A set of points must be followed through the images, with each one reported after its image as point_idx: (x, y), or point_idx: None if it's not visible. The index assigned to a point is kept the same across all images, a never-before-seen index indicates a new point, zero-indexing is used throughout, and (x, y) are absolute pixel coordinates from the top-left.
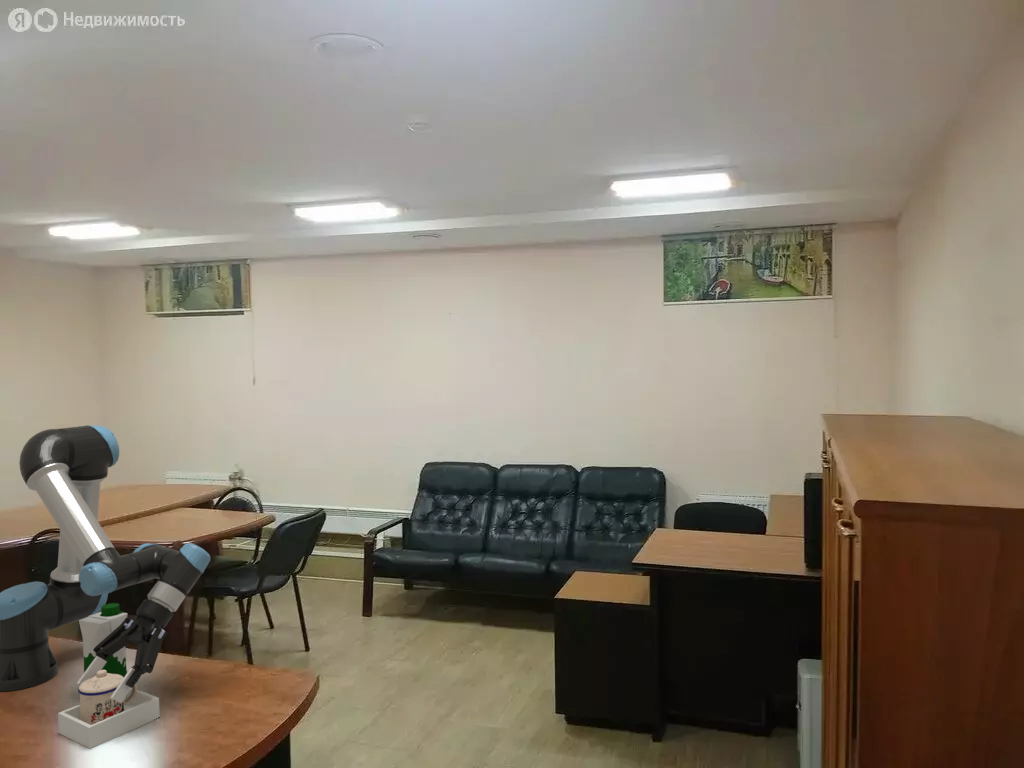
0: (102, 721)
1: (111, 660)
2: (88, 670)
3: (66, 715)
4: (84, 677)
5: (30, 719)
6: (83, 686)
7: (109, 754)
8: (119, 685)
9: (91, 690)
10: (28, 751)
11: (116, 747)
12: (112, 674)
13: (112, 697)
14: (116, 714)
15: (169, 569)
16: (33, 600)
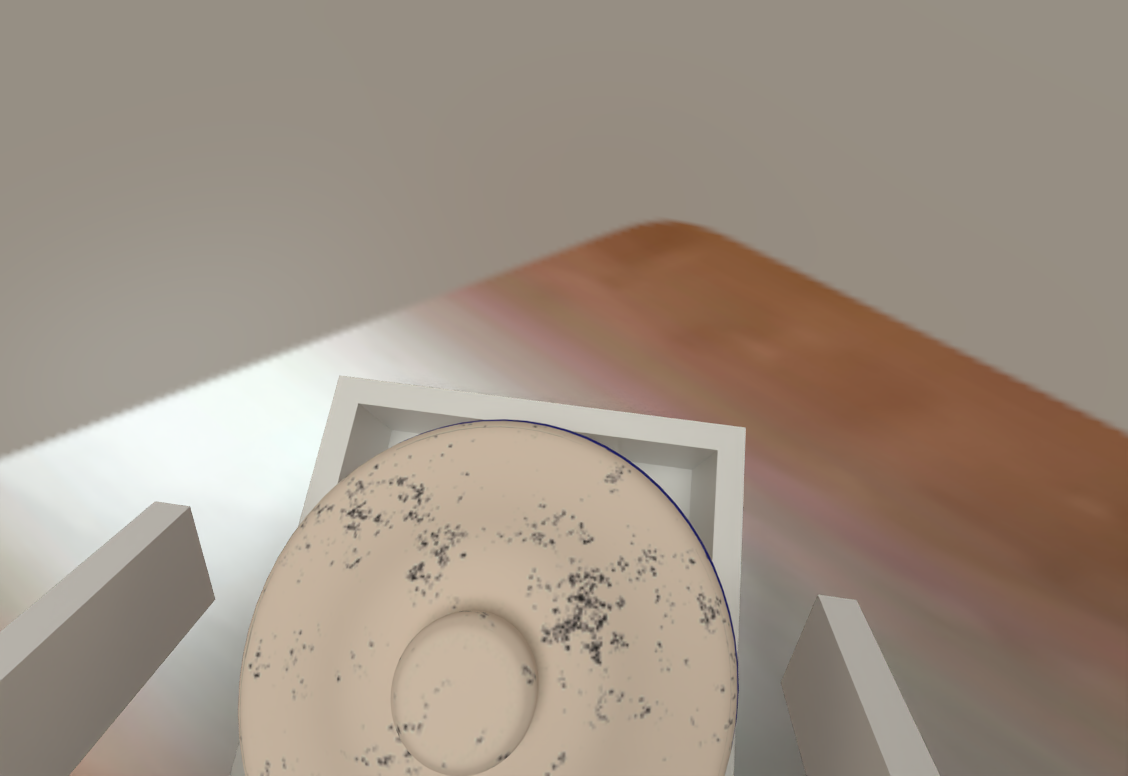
0: (321, 468)
1: None
2: (882, 764)
3: (653, 428)
4: (842, 679)
5: (1043, 498)
6: (559, 465)
7: (235, 418)
8: (57, 609)
9: (400, 448)
10: (662, 282)
11: (253, 482)
12: None
13: (151, 505)
14: None
15: None
16: None
